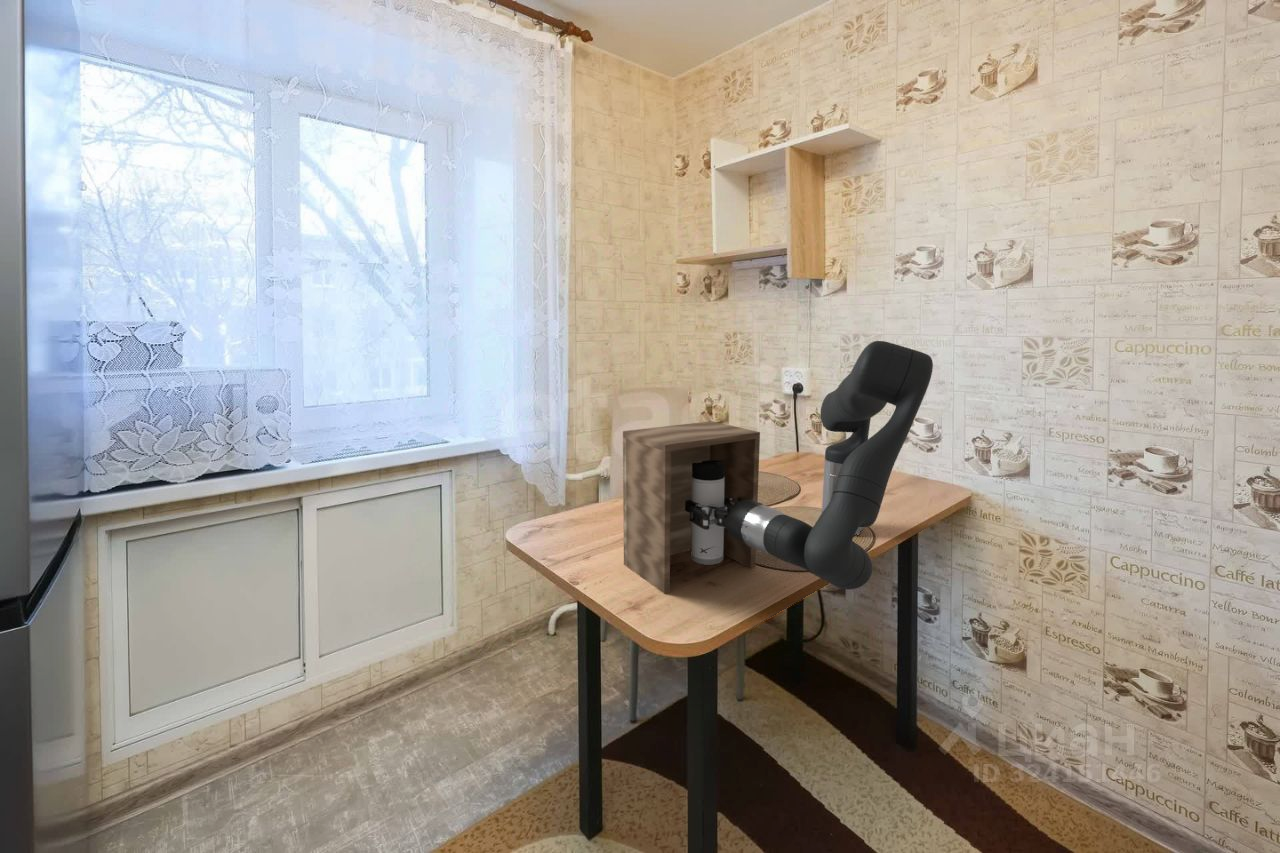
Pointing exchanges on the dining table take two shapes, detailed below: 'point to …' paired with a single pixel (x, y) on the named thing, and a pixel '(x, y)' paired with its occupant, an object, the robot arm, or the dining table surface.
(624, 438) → the cubby
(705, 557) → the travel mug
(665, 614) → the dining table surface
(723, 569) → the dining table surface
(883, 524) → the dining table surface
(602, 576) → the dining table surface
